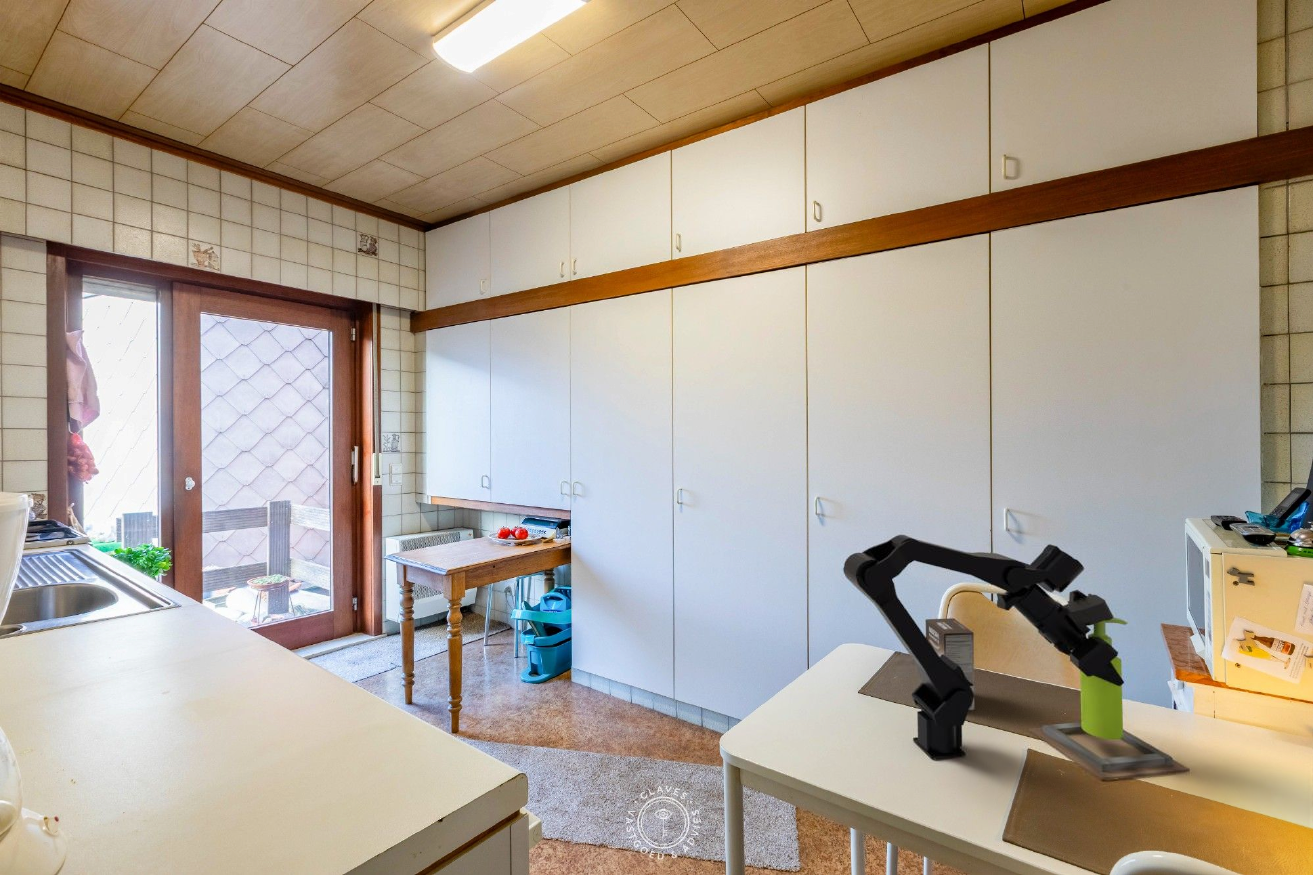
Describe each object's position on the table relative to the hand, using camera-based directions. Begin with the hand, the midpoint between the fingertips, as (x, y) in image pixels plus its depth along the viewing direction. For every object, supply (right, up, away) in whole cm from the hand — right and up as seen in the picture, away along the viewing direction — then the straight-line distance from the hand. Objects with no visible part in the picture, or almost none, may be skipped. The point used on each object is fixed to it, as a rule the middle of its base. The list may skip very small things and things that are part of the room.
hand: (1112, 676), depth 105 cm
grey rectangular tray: (-1, -13, +1) cm, 13 cm away
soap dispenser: (-1, -10, 0) cm, 10 cm away
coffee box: (-18, -14, +21) cm, 31 cm away
